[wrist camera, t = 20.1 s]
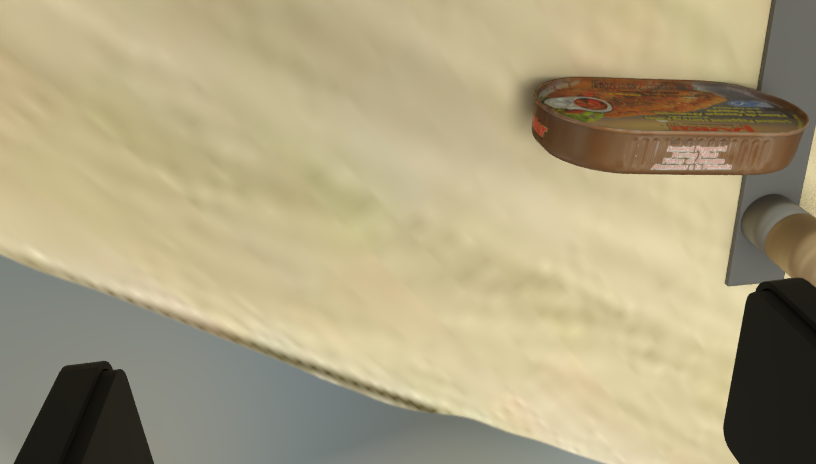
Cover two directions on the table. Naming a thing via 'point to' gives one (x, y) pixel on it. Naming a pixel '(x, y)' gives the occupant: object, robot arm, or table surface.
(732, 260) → the strip
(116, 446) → the robot arm
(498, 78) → the table surface
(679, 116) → the tin
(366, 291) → the table surface
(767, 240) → the tan and grey cylinder
